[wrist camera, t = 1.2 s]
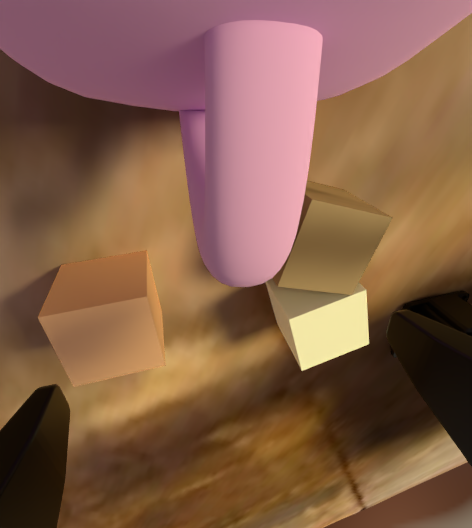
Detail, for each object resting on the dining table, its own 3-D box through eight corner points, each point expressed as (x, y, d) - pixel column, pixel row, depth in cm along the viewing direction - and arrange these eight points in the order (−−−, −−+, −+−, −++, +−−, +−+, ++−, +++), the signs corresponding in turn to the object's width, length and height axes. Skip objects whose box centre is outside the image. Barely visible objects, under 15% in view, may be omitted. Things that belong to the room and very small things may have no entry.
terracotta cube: (161, 311, 22) (165, 365, 18) (87, 326, 21) (73, 386, 17) (146, 249, 20) (146, 296, 16) (61, 264, 19) (37, 317, 15)
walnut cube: (314, 255, 23) (352, 294, 19) (252, 245, 21) (277, 286, 17) (343, 189, 21) (392, 217, 17) (276, 172, 19) (312, 199, 15)
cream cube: (333, 300, 26) (369, 344, 22) (276, 322, 26) (301, 371, 21) (326, 251, 23) (366, 289, 19) (263, 275, 23) (288, 319, 19)
